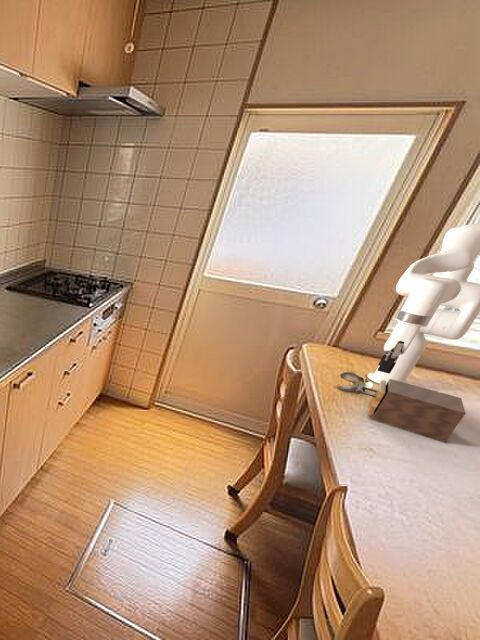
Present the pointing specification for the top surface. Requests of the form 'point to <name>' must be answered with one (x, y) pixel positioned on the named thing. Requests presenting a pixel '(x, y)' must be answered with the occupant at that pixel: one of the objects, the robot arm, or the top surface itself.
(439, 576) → the top surface
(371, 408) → the drawer
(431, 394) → the cabinet
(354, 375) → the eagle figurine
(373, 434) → the top surface
